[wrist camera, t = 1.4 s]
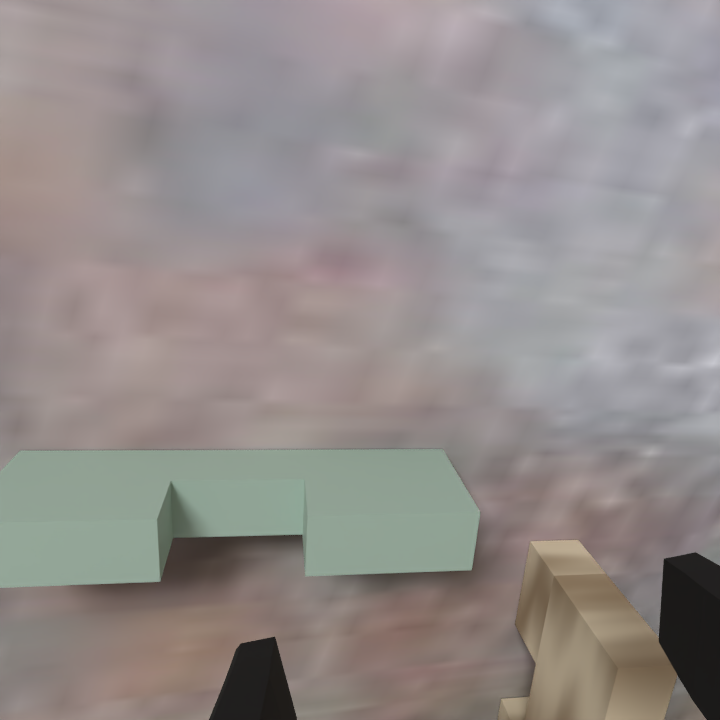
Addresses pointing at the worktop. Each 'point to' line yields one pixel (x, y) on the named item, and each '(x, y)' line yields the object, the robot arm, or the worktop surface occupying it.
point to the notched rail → (229, 510)
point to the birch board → (585, 644)
